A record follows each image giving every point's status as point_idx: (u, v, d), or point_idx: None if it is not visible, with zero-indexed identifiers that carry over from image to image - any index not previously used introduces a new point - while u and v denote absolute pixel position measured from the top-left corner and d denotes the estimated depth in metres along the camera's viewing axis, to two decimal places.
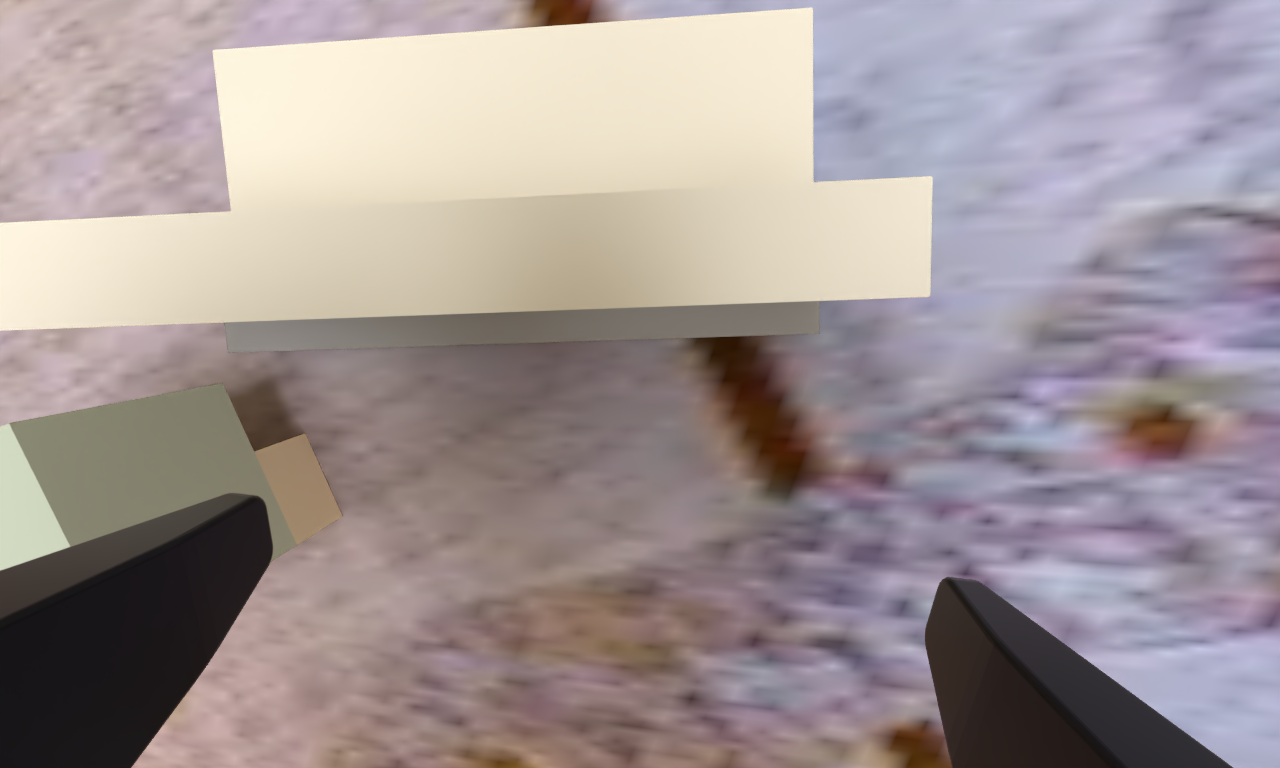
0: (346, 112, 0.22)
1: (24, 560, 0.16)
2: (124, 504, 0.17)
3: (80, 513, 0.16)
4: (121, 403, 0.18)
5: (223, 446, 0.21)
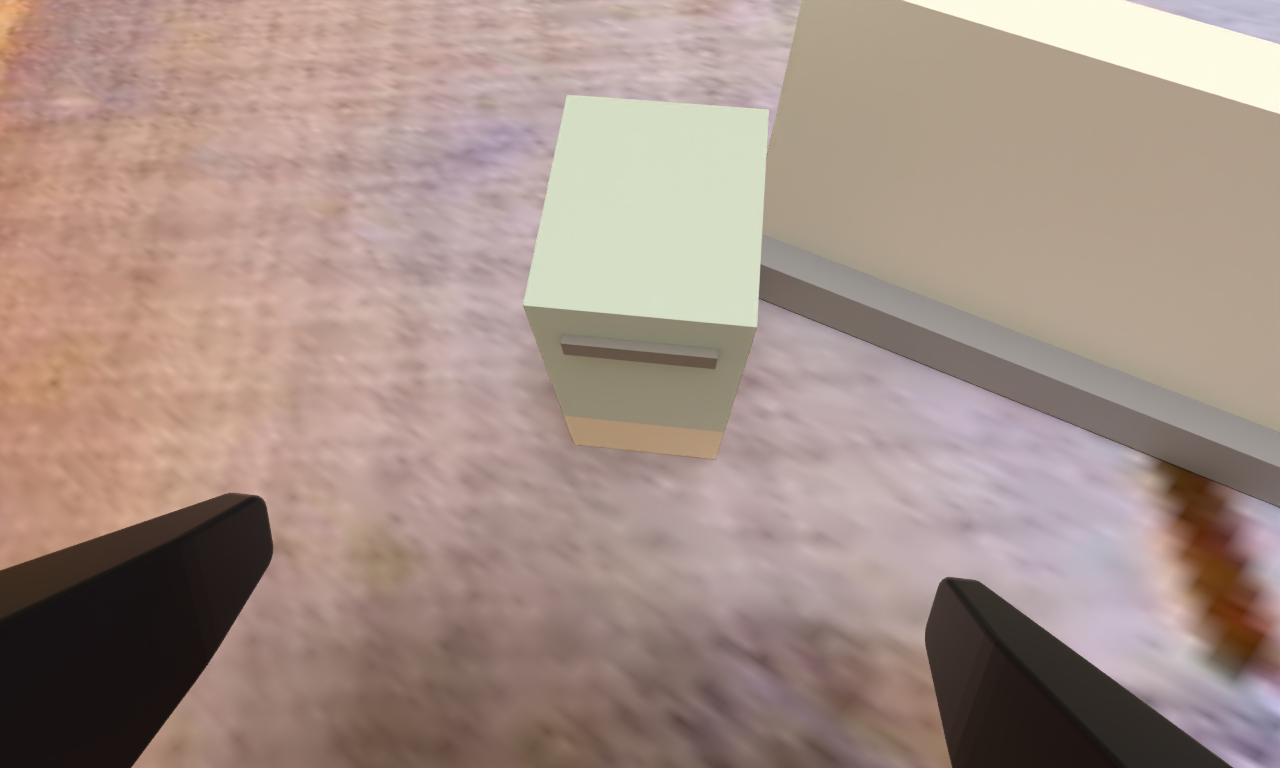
0: None
1: (707, 207, 0.15)
2: None
3: None
4: None
5: None
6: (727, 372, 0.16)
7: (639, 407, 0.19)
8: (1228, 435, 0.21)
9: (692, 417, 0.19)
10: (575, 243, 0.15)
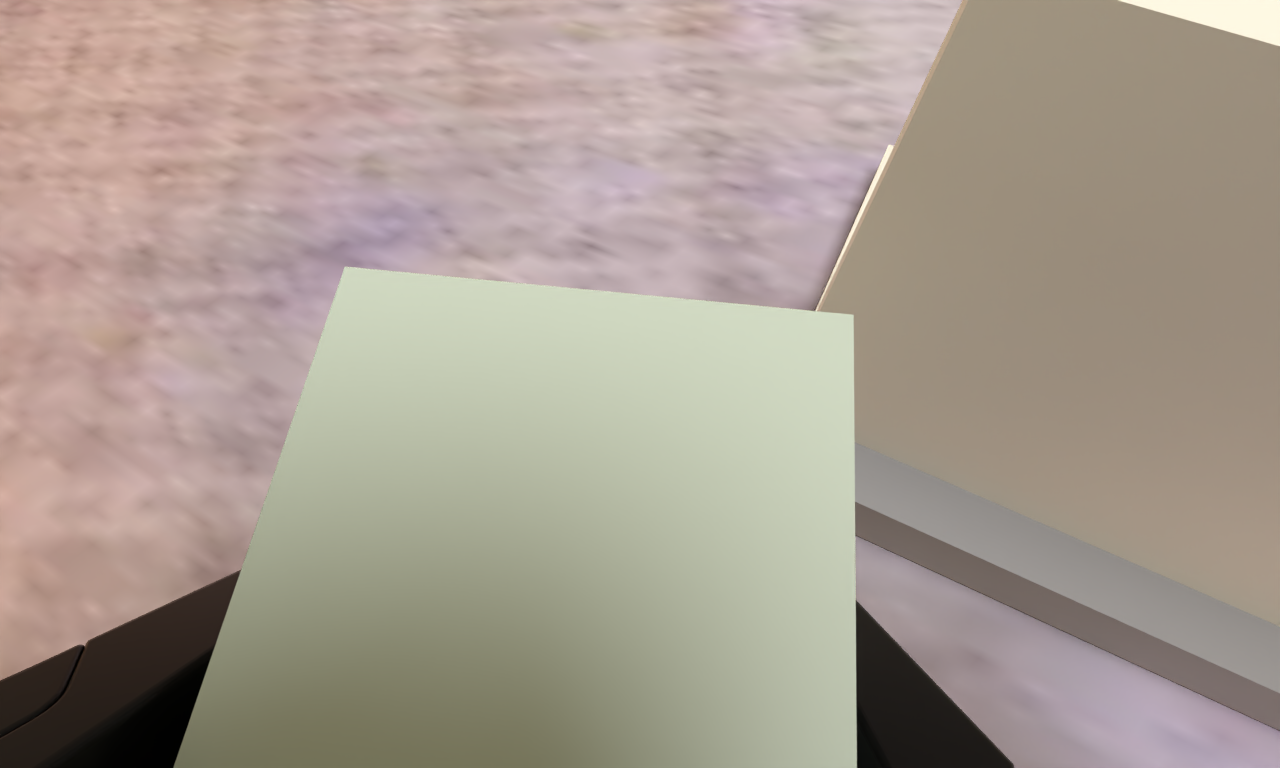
0: None
1: (692, 639, 0.05)
2: None
3: None
4: None
5: None
6: None
7: None
8: None
9: None
10: None
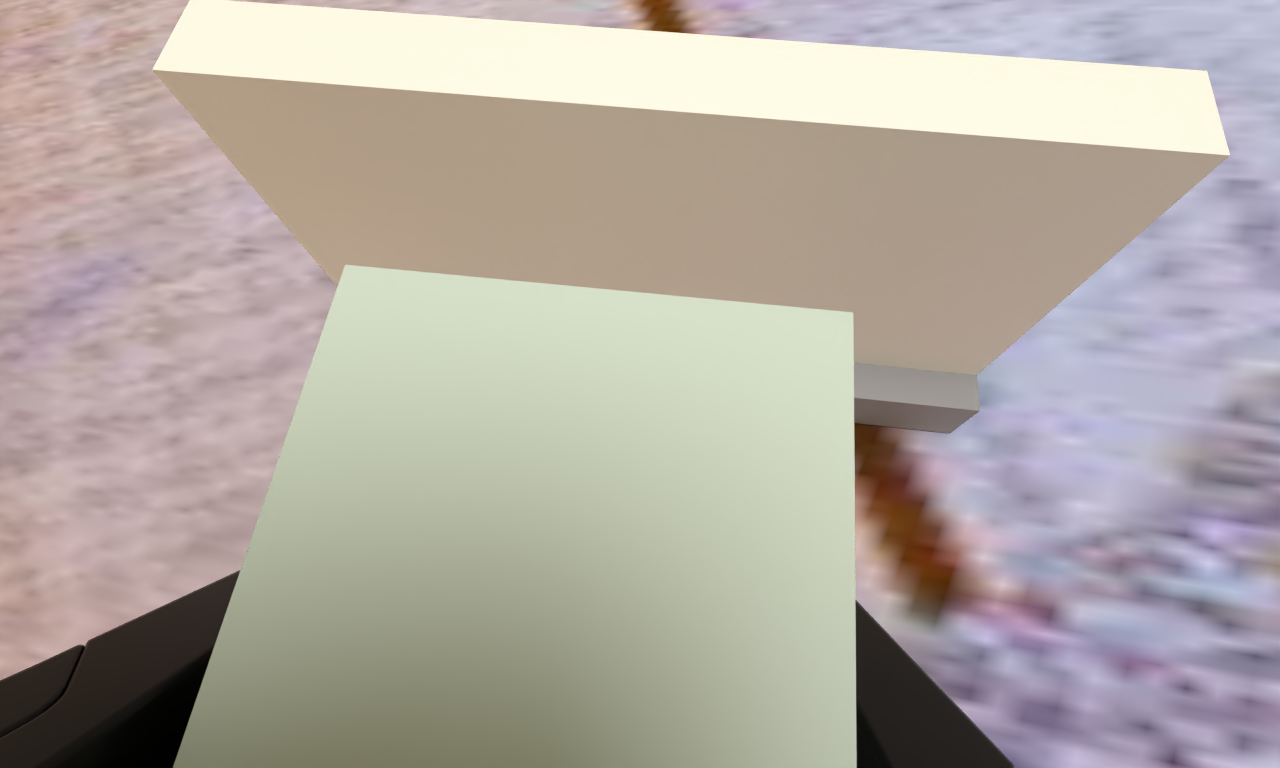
0: None
1: (692, 637, 0.05)
2: None
3: None
4: None
5: None
6: None
7: None
8: (864, 386, 0.21)
9: None
10: None
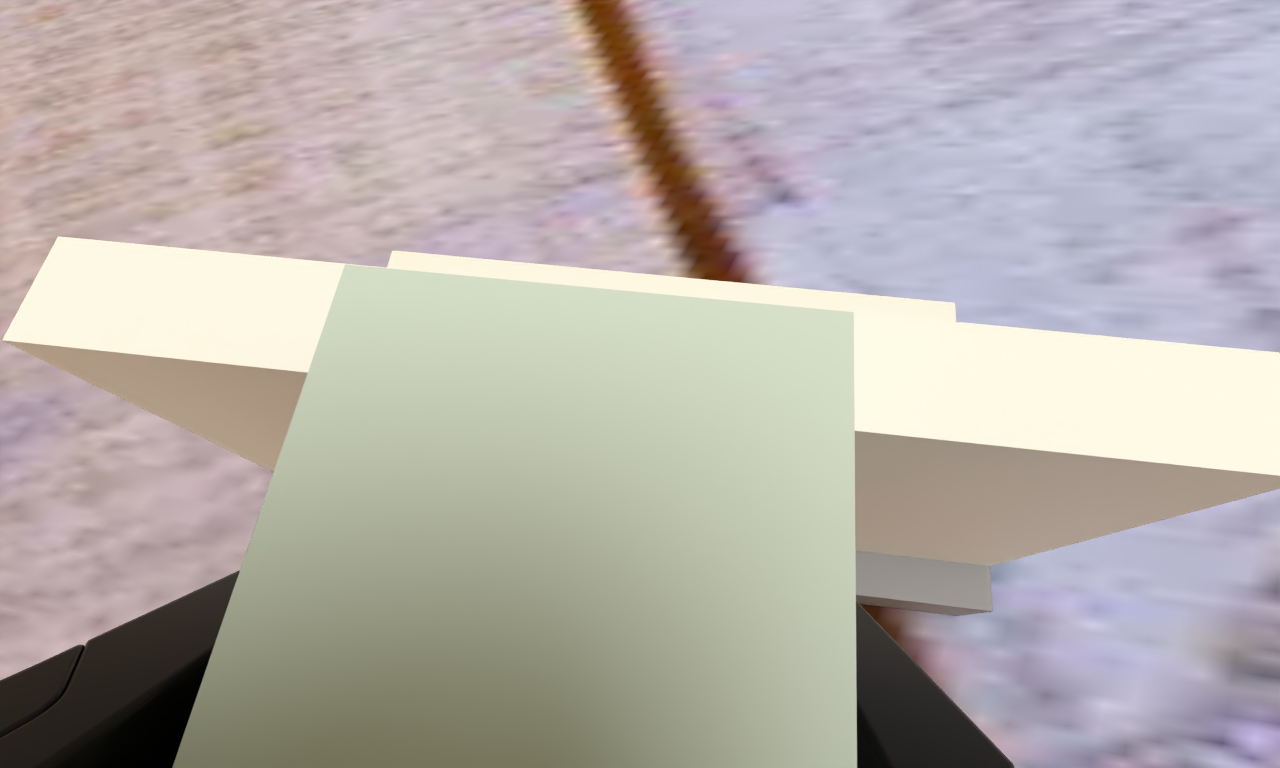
0: None
1: (692, 637, 0.05)
2: None
3: None
4: None
5: None
6: None
7: None
8: (864, 580, 0.18)
9: None
10: None
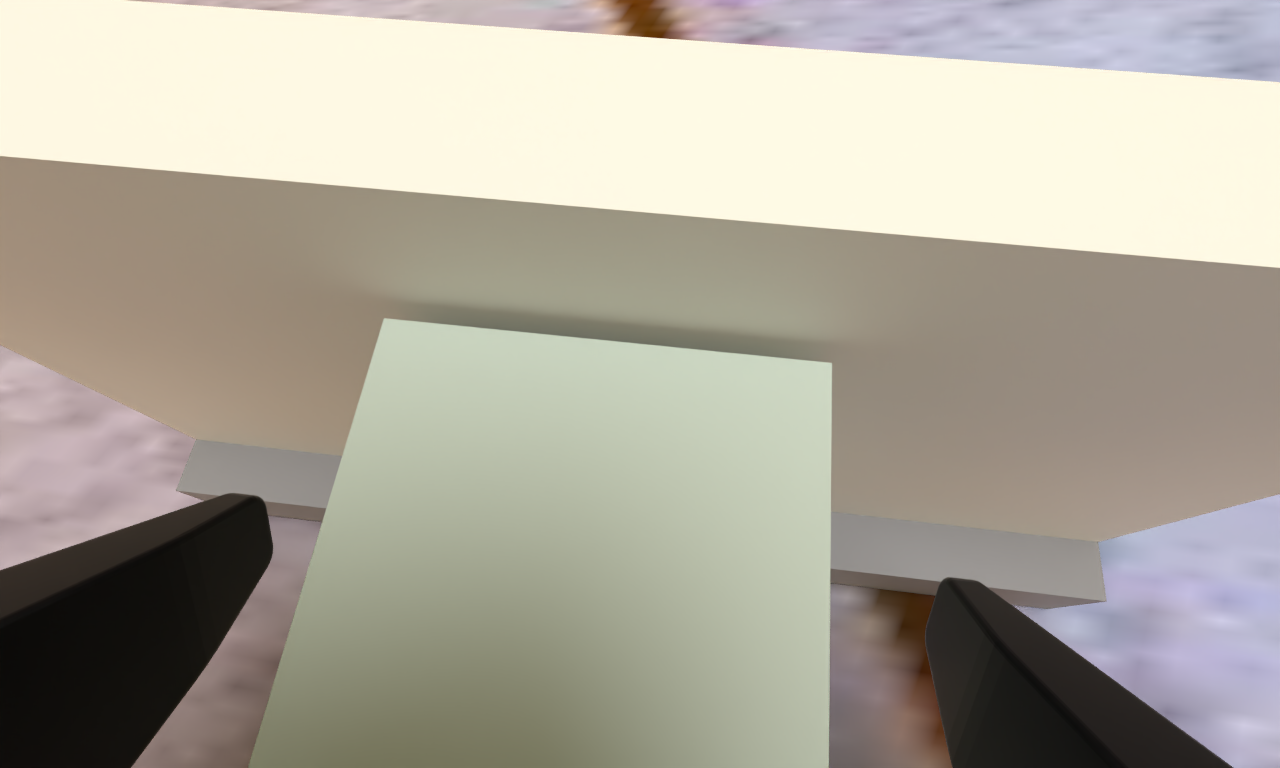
0: None
1: (690, 649, 0.06)
2: None
3: None
4: None
5: None
6: None
7: None
8: (932, 561, 0.14)
9: None
10: (348, 766, 0.06)
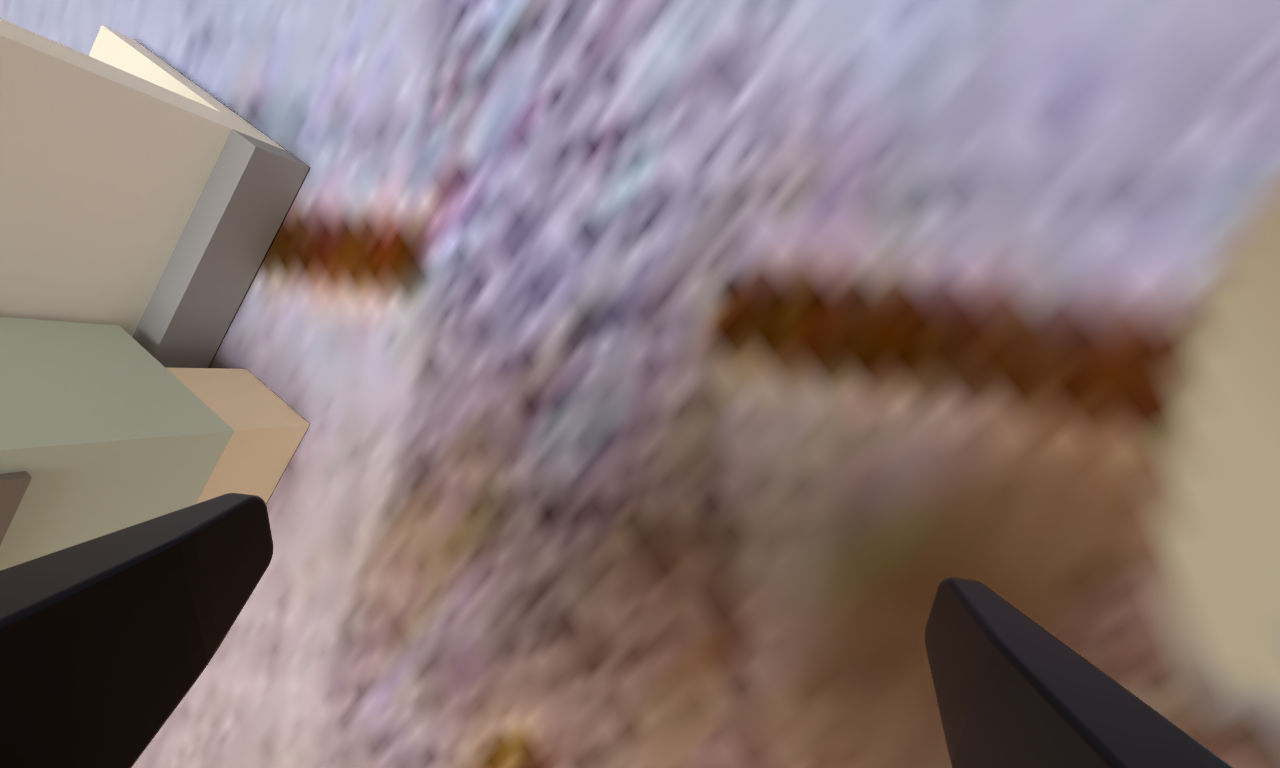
0: None
1: None
2: None
3: None
4: None
5: (117, 358, 0.20)
6: (64, 456, 0.16)
7: (155, 505, 0.20)
8: (202, 234, 0.22)
9: (187, 461, 0.20)
10: None
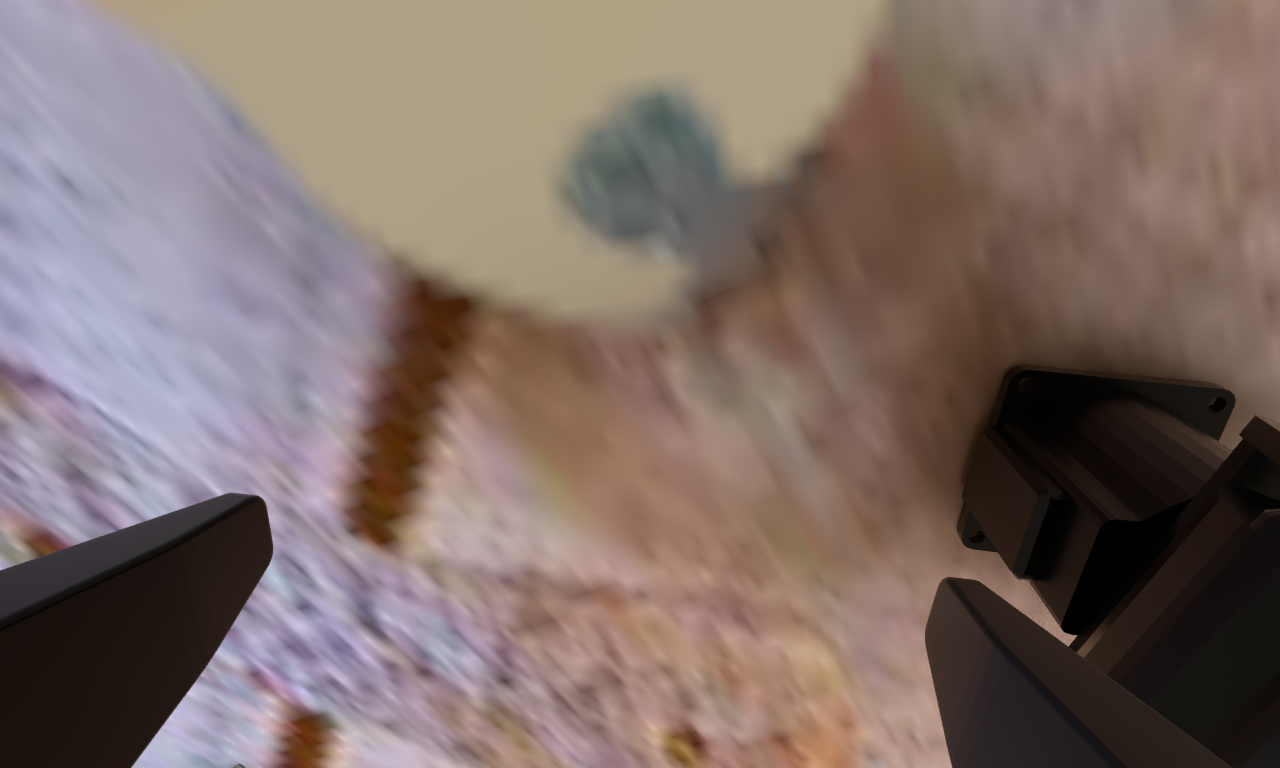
0: None
1: None
2: None
3: None
4: None
5: None
6: None
7: None
8: None
9: None
10: None
